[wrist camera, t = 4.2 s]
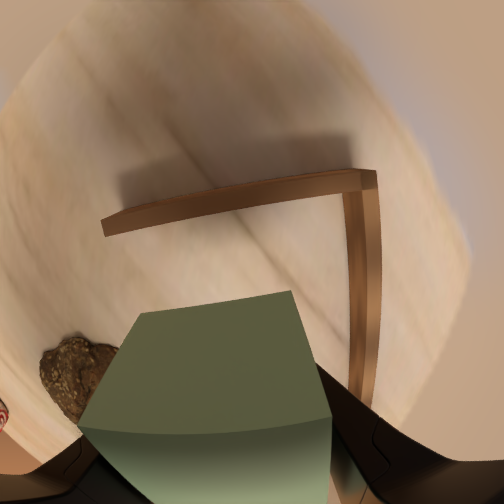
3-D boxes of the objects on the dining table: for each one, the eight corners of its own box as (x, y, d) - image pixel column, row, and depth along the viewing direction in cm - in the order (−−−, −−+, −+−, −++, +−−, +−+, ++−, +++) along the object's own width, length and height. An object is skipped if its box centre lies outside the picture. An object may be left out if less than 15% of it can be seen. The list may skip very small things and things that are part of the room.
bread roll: (111, 433, 26) (100, 463, 21) (35, 360, 22) (13, 387, 18) (187, 405, 24) (179, 445, 19) (92, 311, 20) (64, 344, 16)
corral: (355, 410, 24) (365, 435, 21) (206, 434, 25) (203, 460, 21) (353, 168, 17) (375, 170, 14) (123, 209, 18) (100, 220, 14)
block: (303, 398, 10) (327, 504, 6) (184, 411, 10) (166, 512, 6) (290, 290, 9) (332, 416, 4) (140, 313, 9) (76, 425, 4)
